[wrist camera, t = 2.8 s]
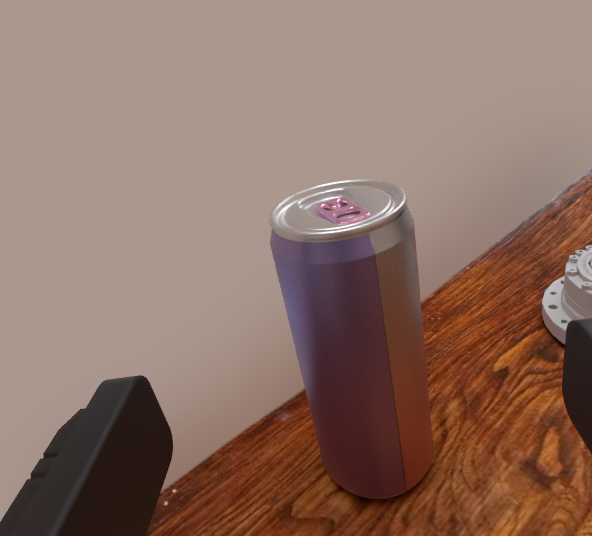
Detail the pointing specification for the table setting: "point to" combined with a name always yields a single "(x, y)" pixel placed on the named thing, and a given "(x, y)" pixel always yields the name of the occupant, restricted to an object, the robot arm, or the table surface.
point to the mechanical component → (569, 295)
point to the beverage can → (358, 330)
